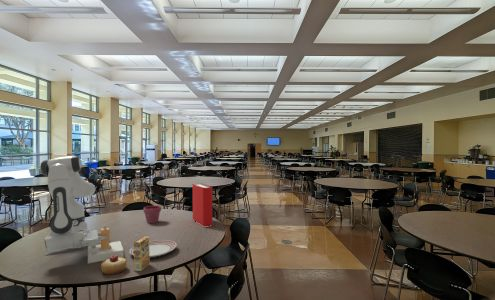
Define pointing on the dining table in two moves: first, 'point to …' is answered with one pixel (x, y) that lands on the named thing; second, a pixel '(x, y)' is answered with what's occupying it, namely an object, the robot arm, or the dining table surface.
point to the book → (202, 204)
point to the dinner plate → (158, 247)
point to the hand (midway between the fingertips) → (106, 235)
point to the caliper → (56, 251)
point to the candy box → (141, 254)
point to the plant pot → (152, 213)
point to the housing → (104, 252)
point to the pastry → (113, 265)
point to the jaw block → (105, 242)
